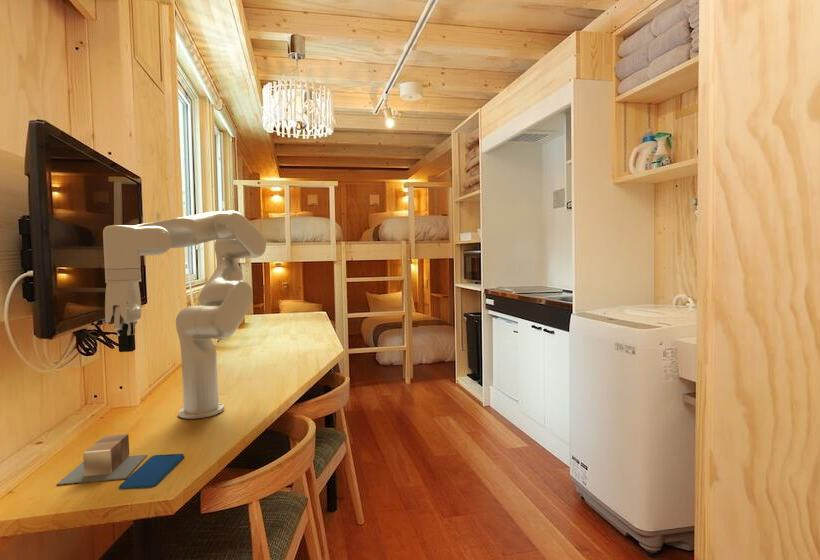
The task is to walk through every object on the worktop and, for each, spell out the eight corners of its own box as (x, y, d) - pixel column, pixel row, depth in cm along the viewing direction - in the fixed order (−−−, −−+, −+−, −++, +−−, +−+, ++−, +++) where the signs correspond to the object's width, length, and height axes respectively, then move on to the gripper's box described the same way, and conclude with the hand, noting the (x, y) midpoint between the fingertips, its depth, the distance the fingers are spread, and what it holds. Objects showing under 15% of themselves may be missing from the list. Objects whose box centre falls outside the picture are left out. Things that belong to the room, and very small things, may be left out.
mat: (85, 461, 110) (85, 459, 110) (147, 455, 112) (147, 454, 112) (56, 485, 98) (56, 484, 98) (126, 479, 100) (126, 477, 100)
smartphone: (116, 487, 96) (152, 455, 111) (116, 492, 96) (153, 459, 111) (154, 485, 96) (185, 453, 111) (155, 490, 96) (185, 457, 111)
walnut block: (104, 435, 111) (83, 452, 101) (128, 433, 112) (109, 450, 102) (105, 457, 111) (84, 476, 101) (129, 455, 112) (110, 474, 102)
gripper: (119, 275, 125) (123, 346, 126) (91, 278, 110) (96, 358, 111) (150, 274, 126) (154, 345, 127) (127, 277, 111) (131, 356, 112)
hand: (127, 351), depth 119 cm, fingers closed
